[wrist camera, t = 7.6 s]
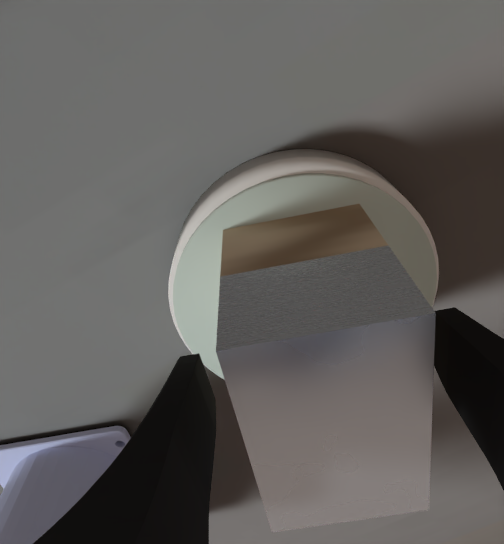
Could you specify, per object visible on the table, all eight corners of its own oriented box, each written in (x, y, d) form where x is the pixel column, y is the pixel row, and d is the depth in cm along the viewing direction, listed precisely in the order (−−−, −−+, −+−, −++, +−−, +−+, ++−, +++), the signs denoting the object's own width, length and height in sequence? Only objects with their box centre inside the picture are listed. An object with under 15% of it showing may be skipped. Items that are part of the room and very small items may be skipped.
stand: (417, 339, 20) (439, 378, 18) (209, 376, 21) (206, 417, 18) (416, 122, 15) (447, 138, 13) (141, 180, 16) (127, 205, 13)
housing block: (359, 203, 14) (435, 313, 8) (370, 363, 17) (428, 509, 12) (223, 229, 14) (215, 351, 9) (260, 381, 17) (272, 532, 12)
